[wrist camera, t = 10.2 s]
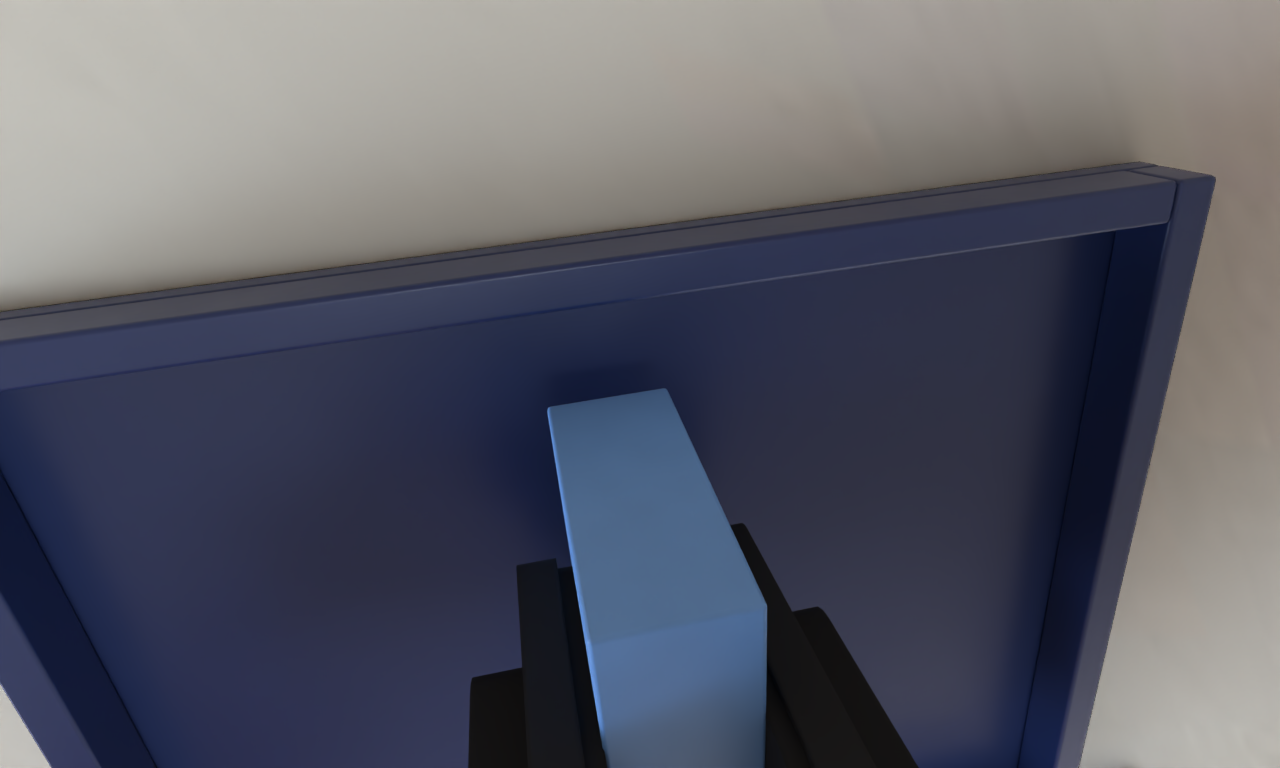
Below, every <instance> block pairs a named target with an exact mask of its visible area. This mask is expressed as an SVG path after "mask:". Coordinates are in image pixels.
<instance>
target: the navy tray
mask: <svg viewBox="0 0 1280 768" xmlns="http://www.w3.org/2000/svg"><path fill="white" fill-rule="evenodd" d="M1215 182H1216V179H1215V177H1214V176H1212V175H1208V174H1202V173H1197V172H1191V171H1186V170H1180V169H1175V168H1169V167H1164V166H1158V165H1155V164H1150V163H1144V162H1134V163H1126V164H1118V165H1111V166H1103V167H1096V168H1088V169H1080V170H1073V171H1065V172H1058V173H1050V174H1043V175H1035V176H1027V177H1020V178H1012V179H1005V180H997V181H990V182H982V183H974V184H967V185H959V186H952V187H944V188H936V189H929V190H921V191H914V192H906V193H899V194H891V195H883V196H876V197H868V198H861V199H853V200H846V201H838V202H830V203H823V204H815V205H808V206H800V207H792V208H785V209H777V210H770V211H762V212H755V213H747V214H739V215H732V216H724V217H717V218H709V219H702V220H694V221H686V222H679V223H671V224H664V225H656V226H648V227H641V228H633V229H626V230H618V231H611V232H603V233H595V234H588V235H580V236H573V237H565V238H558V239H550V240H542V241H535V242H527V243H520V244H512V245H504V246H497V247H489V248H482V249H474V250H467V251H459V252H451V253H444V254H436V255H429V256H421V257H414V258H406V259H398V260H391V261H383V262H376V263H368V264H360V265H353V266H345V267H338V268H330V269H323V270H315V271H307V272H300V273H292V274H285V275H277V276H270V277H262V278H254V279H247V280H239V281H232V282H224V283H216V284H209V285H201V286H194V287H186V288H179V289H171V290H163V291H156V292H148V293H141V294H133V295H126V296H118V297H110V298H103V299H95V300H88V301H80V302H73V303H65V304H57V305H50V306H42V307H35V308H27V309H19V310H12V311H4V312H0V685H1V686H2V688H3V690H4V691H5V693H6V695H7V696H8V698H9V699H10V701H11V703H12V704H13V706H14V708H15V709H16V711H17V712H18V714H19V716H20V717H21V719H22V721H23V722H24V724H25V725H26V727H27V729H28V730H29V732H30V734H31V735H32V737H33V739H34V740H35V742H36V743H37V745H38V747H39V748H40V750H41V752H42V753H43V755H44V756H45V758H46V760H47V761H48V763H49V765H50V766H51V768H468V753H469V711H470V685H471V680H472V678H473V677H478V676H482V675H487V674H492V673H497V672H502V671H507V670H512V669H516V668H521V667H522V656H521V639H520V622H519V606H518V589H517V572H516V567H517V565H521V564H526V563H531V562H537V561H542V560H547V559H553V558H556V561H557V566H558V568H563V567H568V566H572V563H571V557H570V551H569V545H568V538H567V532H566V526H565V520H564V513H563V507H562V501H561V494H560V488H559V482H558V476H557V469H556V463H555V457H554V451H553V444H552V438H551V432H550V426H549V419H548V413H547V410H548V408H549V407H552V406H558V405H564V404H570V403H576V402H582V401H588V400H594V399H601V398H607V397H613V396H619V395H625V394H631V393H637V392H643V391H650V390H656V389H662V388H665V389H667V391H668V393H669V395H670V397H671V399H672V401H673V403H674V406H675V408H676V410H677V412H678V414H679V416H680V419H681V421H682V423H683V425H684V427H685V429H686V431H687V434H688V436H689V438H690V440H691V442H692V444H693V447H694V449H695V451H696V453H697V455H698V457H699V460H700V462H701V464H702V466H703V468H704V470H705V472H706V475H707V477H708V479H709V481H710V483H711V485H712V488H713V490H714V492H715V494H716V496H717V498H718V501H719V503H720V505H721V507H722V509H723V511H724V513H725V516H726V518H727V520H728V522H729V524H730V525H733V524H738V523H743V524H745V526H746V527H747V529H748V531H749V532H750V534H751V536H752V538H753V540H754V542H755V544H756V545H757V547H758V549H759V551H760V553H761V555H762V556H763V558H764V560H765V562H766V564H767V566H768V568H769V569H770V571H771V573H772V575H773V577H774V579H775V580H776V582H777V584H778V586H779V588H780V590H781V592H782V593H783V595H784V597H785V599H786V601H787V603H788V604H789V606H790V608H791V610H792V612H793V611H797V610H802V609H807V608H812V607H817V606H818V607H819V608H821V609H822V610H824V612H825V613H826V615H827V616H828V617H829V619H830V620H831V622H832V624H833V625H834V627H835V629H836V630H837V632H838V634H839V635H840V637H841V639H842V640H843V642H844V644H845V645H846V647H847V649H848V650H849V652H850V654H851V655H852V657H853V659H854V660H855V662H856V664H857V665H858V667H859V669H860V671H861V672H862V674H863V676H864V677H865V679H866V681H867V682H868V684H869V686H870V687H871V689H872V691H873V692H874V694H875V696H876V697H877V699H878V701H879V702H880V704H881V706H882V707H883V709H884V711H885V712H886V714H887V716H888V717H889V719H890V721H891V722H892V724H893V726H894V727H895V729H896V731H897V732H898V734H899V736H900V737H901V739H902V741H903V742H904V744H905V746H906V747H907V749H908V751H909V752H910V754H911V756H912V757H913V759H914V761H915V762H916V764H917V766H918V767H919V768H1079V765H1080V761H1081V756H1082V752H1083V748H1084V743H1085V739H1086V735H1087V731H1088V726H1089V722H1090V718H1091V713H1092V709H1093V705H1094V701H1095V696H1096V692H1097V688H1098V683H1099V679H1100V675H1101V671H1102V666H1103V662H1104V658H1105V653H1106V649H1107V645H1108V641H1109V636H1110V632H1111V628H1112V623H1113V619H1114V615H1115V611H1116V606H1117V602H1118V598H1119V593H1120V589H1121V585H1122V581H1123V576H1124V572H1125V568H1126V563H1127V559H1128V555H1129V551H1130V546H1131V542H1132V538H1133V533H1134V529H1135V525H1136V520H1137V516H1138V512H1139V508H1140V503H1141V499H1142V495H1143V490H1144V486H1145V482H1146V478H1147V473H1148V469H1149V465H1150V460H1151V456H1152V452H1153V448H1154V443H1155V439H1156V435H1157V430H1158V426H1159V422H1160V418H1161V413H1162V409H1163V405H1164V400H1165V396H1166V392H1167V388H1168V383H1169V379H1170V375H1171V370H1172V366H1173V362H1174V358H1175V353H1176V349H1177V345H1178V340H1179V336H1180V332H1181V328H1182V323H1183V319H1184V315H1185V310H1186V306H1187V302H1188V298H1189V293H1190V289H1191V285H1192V280H1193V276H1194V272H1195V268H1196V263H1197V259H1198V255H1199V250H1200V246H1201V242H1202V238H1203V233H1204V229H1205V225H1206V220H1207V216H1208V212H1209V208H1210V203H1211V199H1212V195H1213V190H1214V186H1215Z"/></svg>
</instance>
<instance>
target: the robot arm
mask: <svg viewBox="0 0 1280 768" xmlns="http://www.w3.org/2000/svg"><path fill="white" fill-rule="evenodd" d="M730 526H731V529H732V531H733V533H734V535H735V537H736V539H737V541H738V544H739V546H740V548H741V550H742V552H743V554H744V557H745V559H746V561H747V563H748V565H749V567H750V570H751V572H752V574H753V576H754V578H755V580H756V582H757V585H758V587H759V589H760V591H761V593H762V595H763V598H764V600H765V602H766V604H767V673H766V748H765V768H919V767H918V766H917V764H916V762H915V761H914V759H913V757H912V756H911V754H910V752H909V751H908V749H907V747H906V746H905V744H904V742H903V741H902V739H901V737H900V736H899V734H898V732H897V731H896V729H895V727H894V726H893V724H892V722H891V721H890V719H889V717H888V716H887V714H886V712H885V711H884V709H883V707H882V706H881V704H880V702H879V701H878V699H877V697H876V696H875V694H874V692H873V691H872V689H871V687H870V686H869V684H868V682H867V681H866V679H865V677H864V676H863V674H862V672H861V671H860V669H859V667H858V665H857V664H856V662H855V660H854V659H853V657H852V655H851V654H850V652H849V650H848V649H847V647H846V645H845V644H844V642H843V640H842V639H841V637H840V635H839V634H838V632H837V630H836V629H835V627H834V625H833V624H832V622H831V620H830V619H829V617H828V616H827V615H826V613H825V612H824V610H822V609H821V608H819V607H818V606H817V607H812V608H807V609H802V610H797V611H793V612H792V610H791V608H790V606H789V604H788V603H787V601H786V599H785V597H784V595H783V593H782V592H781V590H780V588H779V586H778V584H777V582H776V580H775V579H774V577H773V575H772V573H771V571H770V569H769V568H768V566H767V564H766V562H765V560H764V558H763V556H762V555H761V553H760V551H759V549H758V547H757V545H756V544H755V542H754V540H753V538H752V536H751V534H750V532H749V531H748V529H747V527H746V526H745V524H743V523H738V524H733V525H730ZM516 572H517V589H518V606H519V622H520V639H521V656H522V667H521V668H516V669H512V670H507V671H502V672H497V673H492V674H487V675H482V676H478V677H473V678H472V680H471V685H470V711H469V753H468V768H607V763H606V757H605V751H604V750H603V747H602V741H601V735H600V729H599V723H598V717H597V711H596V705H595V699H594V693H593V687H592V681H591V675H590V669H589V663H588V657H587V651H586V645H585V639H584V633H583V627H582V621H581V615H580V609H579V603H578V597H577V591H576V585H575V579H574V573H573V567H572V566H568V567H563V568H558V566H557V561H556V558H553V559H547V560H542V561H537V562H531V563H526V564H521V565H517V567H516Z"/></svg>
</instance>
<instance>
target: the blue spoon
mask: <svg viewBox="0 0 1280 768" xmlns="http://www.w3.org/2000/svg"><path fill="white" fill-rule="evenodd" d="M547 413H548V419H549V426H550V432H551V438H552V444H553V451H554V457H555V463H556V469H557V476H558V482H559V488H560V494H561V501H562V507H563V513H564V520H565V526H566V532H567V538H568V545H569V551H570V557H571V563H572V567H573V573H574V579H575V585H576V591H577V597H578V603H579V609H580V615H581V621H582V627H583V633H584V639H585V645H586V651H587V657H588V663H589V669H590V675H591V681H592V687H593V693H594V699H595V705H596V711H597V717H598V723H599V729H600V735H601V741H602V747H603V750H604V751H605V757H606V763H607V768H765V748H766V673H767V604H766V602H765V600H764V598H763V595H762V593H761V591H760V589H759V587H758V585H757V582H756V580H755V578H754V576H753V574H752V572H751V570H750V567H749V565H748V563H747V561H746V559H745V557H744V554H743V552H742V550H741V548H740V546H739V544H738V541H737V539H736V537H735V535H734V533H733V531H732V529H731V526H730V524H729V522H728V520H727V518H726V516H725V513H724V511H723V509H722V507H721V505H720V503H719V501H718V498H717V496H716V494H715V492H714V490H713V488H712V485H711V483H710V481H709V479H708V477H707V475H706V472H705V470H704V468H703V466H702V464H701V462H700V460H699V457H698V455H697V453H696V451H695V449H694V447H693V444H692V442H691V440H690V438H689V436H688V434H687V431H686V429H685V427H684V425H683V423H682V421H681V419H680V416H679V414H678V412H677V410H676V408H675V406H674V403H673V401H672V399H671V397H670V395H669V393H668V391H667V389H665V388H662V389H656V390H650V391H643V392H637V393H631V394H625V395H619V396H613V397H607V398H601V399H594V400H588V401H582V402H576V403H570V404H564V405H558V406H552V407H549V408H548V410H547Z"/></svg>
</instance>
